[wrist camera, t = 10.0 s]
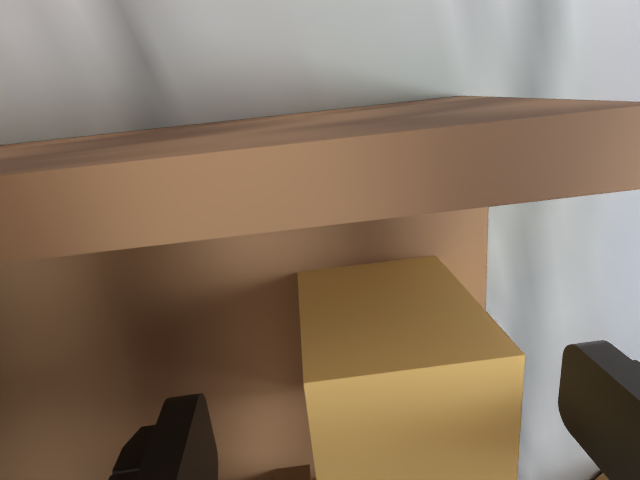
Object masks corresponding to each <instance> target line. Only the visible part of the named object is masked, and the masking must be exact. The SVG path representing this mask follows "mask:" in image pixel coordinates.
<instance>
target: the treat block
mask: <svg viewBox="0 0 640 480" xmlns="http://www.w3.org/2000/svg"><path fill="white" fill-rule="evenodd" d="M297 275H298V293H299V311H300V329H301V347H302V366H303V383H304V391H305V398H306V406H307V413H308V421H309V428H310V436H311V443H312V451H313V458H314V466H315V473H316V480H517V474H518V459H519V443H520V428H521V412H522V396H523V381H524V365H525V354H524V353H523V352H522V351H521V350H520V349H519V347H518V346H517V345H516V344H515V343H514V342H513V341H512V340H511V339H510V337H509V336H508V335H507V334H506V333H505V332H504V331H503V330H502V328H501V327H500V326H499V325H498V324H497V323H496V322H495V321H494V320H493V318H492V317H491V316H490V315H489V314H488V313H487V312H486V311H485V310H484V308H483V307H482V306H481V305H480V304H479V303H478V302H477V301H476V300H475V298H474V297H473V296H472V295H471V294H470V293H469V292H468V291H467V290H466V288H465V287H464V286H463V285H462V284H461V283H460V282H459V281H458V279H457V278H456V277H455V276H454V275H453V274H452V273H451V272H450V271H449V269H448V268H447V267H446V266H445V265H444V264H443V263H442V262H441V261H440V259H439V258H438V257H437V256H428V257H420V258H411V259H403V260H395V261H386V262H378V263H370V264H361V265H353V266H345V267H336V268H328V269H319V270H311V271H303V272H297Z"/></svg>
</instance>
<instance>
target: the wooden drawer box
mask: <svg viewBox="0 0 640 480" xmlns="http://www.w3.org/2000/svg"><path fill="white" fill-rule="evenodd" d="M637 189H640V102H629V101H600V100H570V99H541V98H512V97H482V96H456V97H446V98H437V99H428V100H418V101H409V102H400V103H390V104H381V105H372V106H362V107H353V108H344V109H334V110H325V111H316V112H306V113H297V114H288V115H278V116H269V117H260V118H250V119H241V120H232V121H222V122H213V123H204V124H194V125H185V126H176V127H166V128H157V129H148V130H138V131H129V132H120V133H110V134H101V135H92V136H82V137H73V138H64V139H54V140H45V141H36V142H26V143H17V144H8V145H0V480H108V479H109V477H110V475H112V470H113V468H114V465H115V463H116V461H117V459H118V456H119V454H120V452H121V450H122V447H123V446H124V445H125V444H126V443H127V442H128V441H129V440H130V439H131V437H132V436H133V435H134V434H135V433H136V432H137V431H138V430H139V429H140V427H142V426H150V425H156V422H157V420H158V417H159V414H160V412H161V409H162V406H163V404H164V401H165V400H166V398H169V397H176V396H183V395H191V394H198V393H203V394H204V396H205V398H206V402H207V406H208V411H209V415H210V420H211V424H212V429H213V433H214V437H215V442H216V446H217V452H218V480H316V473H315V466H314V458H313V451H312V443H311V436H310V428H309V421H308V413H307V406H306V398H305V391H304V383H303V366H302V347H301V329H300V311H299V293H298V275H297V272H303V271H311V270H319V269H328V268H336V267H345V266H353V265H361V264H370V263H378V262H386V261H395V260H403V259H411V258H420V257H428V256H437V257H438V258H439V259H440V261H441V262H442V263H443V264H444V265H445V266H446V267H447V268H448V269H449V271H450V272H451V273H452V274H453V275H454V276H455V277H456V278H457V279H458V281H459V282H460V283H461V284H462V285H463V286H464V287H465V288H466V290H467V291H468V292H469V293H470V294H471V295H472V296H473V297H474V298H475V300H476V301H477V302H478V303H479V304H480V305H481V306H482V307H483V308H484V310H485V311H486V277H487V241H488V207H491V206H499V205H508V204H517V203H525V202H534V201H543V200H551V199H560V198H568V197H577V196H586V195H594V194H603V193H611V192H620V191H629V190H637Z"/></svg>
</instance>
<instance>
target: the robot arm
mask: <svg viewBox="0 0 640 480" xmlns="http://www.w3.org/2000/svg"><path fill="white" fill-rule="evenodd" d="M558 407H559V412H560V415H561V418H562V421H563V423H564V425H565V427H566V428H567V430H568V431H569V432H570V434H571V435H572V436H573V437H574V438H575V440H576V441H577V442H578V443H579V444H580V446H581V447H582V448H583V449H584V450H585V452H586V453H587V454H588V455H589V456H590V458H591V459H592V460H593V461H594V462H595V464H596V465H597V466H598V467H599V468H600V469H601V471H602V472H603V473H604V474H605V475H606V477H607V478H608V479H609V480H640V362H638V361H636V360H631V359H630V358H629V357H627V356H626V355H625V354H623V353H622V352H621V351H620V350H618V349H617V348H616V347H614V346H613V345H612V344H610V343H609V342H607V341H603V340H601V341H593V342H586V343H578V344H571V345H568V346H566V347H565V349H564V352H563V359H562V368H561V378H560V388H559V397H558ZM108 480H218V452H217V446H216V442H215V437H214V433H213V429H212V424H211V420H210V415H209V411H208V406H207V402H206V398H205V396H204V394H203V393H198V394H191V395H183V396H176V397H169V398H166V400H165V401H164V404H163V406H162V409H161V412H160V414H159V417H158V420H157V422H156V425H150V426H142V427H140V429H139V430H138V431H137V432H136V433H135V434H134V435H133V436H132V437H131V439H130V440H129V441H128V442H127V443H126V444H125V445H124V446H123V447H122V450H121V452H120V454H119V456H118V459H117V461H116V463H115V465H114V468H113V470H112V475H110V477H109V479H108Z"/></svg>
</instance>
